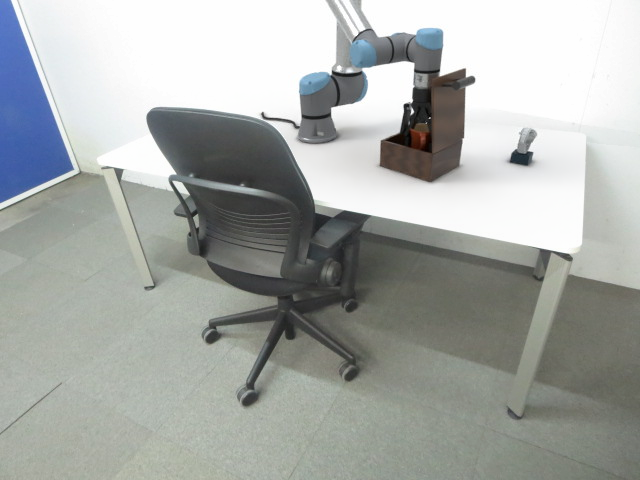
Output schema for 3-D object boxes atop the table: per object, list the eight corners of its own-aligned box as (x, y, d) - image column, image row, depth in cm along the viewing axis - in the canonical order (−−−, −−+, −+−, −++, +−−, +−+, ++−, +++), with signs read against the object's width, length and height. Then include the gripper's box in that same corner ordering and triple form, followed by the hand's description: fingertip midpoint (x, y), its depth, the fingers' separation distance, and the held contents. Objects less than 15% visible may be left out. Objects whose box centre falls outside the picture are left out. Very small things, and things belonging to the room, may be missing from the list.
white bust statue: (533, 159, 140) (541, 126, 134) (525, 167, 134) (533, 133, 129) (515, 155, 143) (522, 123, 137) (507, 163, 138) (514, 130, 132)
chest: (379, 166, 141) (380, 140, 136) (409, 151, 150) (411, 127, 146) (430, 182, 129) (432, 154, 124) (459, 165, 138) (462, 139, 133)
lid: (431, 79, 115) (451, 79, 110) (463, 68, 124) (483, 67, 120) (431, 153, 124) (450, 155, 120) (462, 137, 134) (480, 139, 129)
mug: (408, 152, 144) (410, 122, 138) (435, 153, 142) (438, 123, 136) (406, 167, 134) (408, 135, 128) (435, 168, 132) (438, 135, 127)
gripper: (390, 84, 130) (387, 154, 143) (449, 94, 117) (441, 170, 130) (404, 79, 135) (401, 148, 147) (463, 88, 122) (454, 163, 134)
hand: (419, 158), depth 138 cm, fingers closed on mug, 8 cm apart
